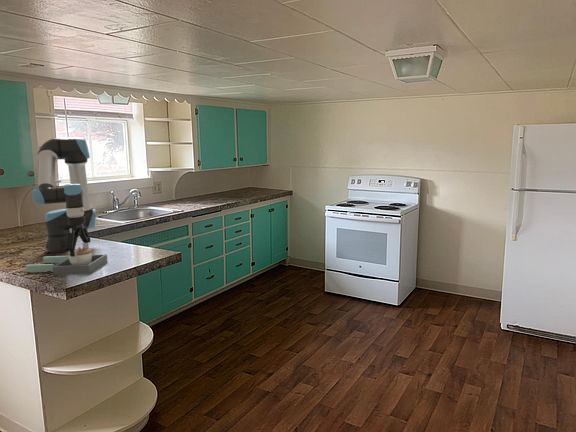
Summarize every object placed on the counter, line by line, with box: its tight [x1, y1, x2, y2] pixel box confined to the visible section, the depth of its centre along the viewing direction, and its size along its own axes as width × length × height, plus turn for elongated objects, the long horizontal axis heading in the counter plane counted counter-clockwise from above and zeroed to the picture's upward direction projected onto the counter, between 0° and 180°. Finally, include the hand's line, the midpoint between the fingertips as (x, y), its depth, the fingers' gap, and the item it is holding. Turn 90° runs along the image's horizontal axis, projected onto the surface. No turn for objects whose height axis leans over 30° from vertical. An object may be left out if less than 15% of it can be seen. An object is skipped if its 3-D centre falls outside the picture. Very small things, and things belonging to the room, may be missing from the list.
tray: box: [52, 253, 108, 276], centre depth 218 cm, size 17×21×4 cm
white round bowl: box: [67, 247, 93, 266], centre depth 218 cm, size 11×11×9 cm
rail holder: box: [25, 255, 69, 273], centre depth 222 cm, size 13×17×4 cm
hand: (80, 259), depth 218 cm, fingers open, 13 cm apart
